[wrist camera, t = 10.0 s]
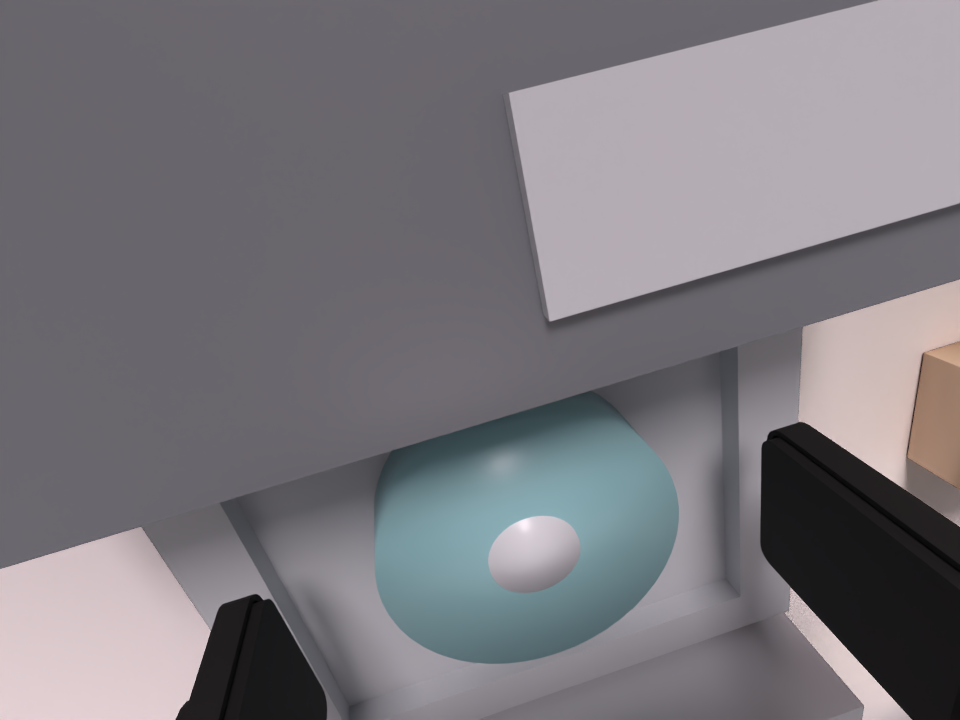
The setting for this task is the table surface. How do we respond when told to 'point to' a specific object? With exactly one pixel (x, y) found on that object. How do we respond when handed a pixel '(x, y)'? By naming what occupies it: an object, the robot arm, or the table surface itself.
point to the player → (425, 220)
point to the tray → (594, 663)
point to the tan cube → (938, 415)
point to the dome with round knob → (522, 531)
